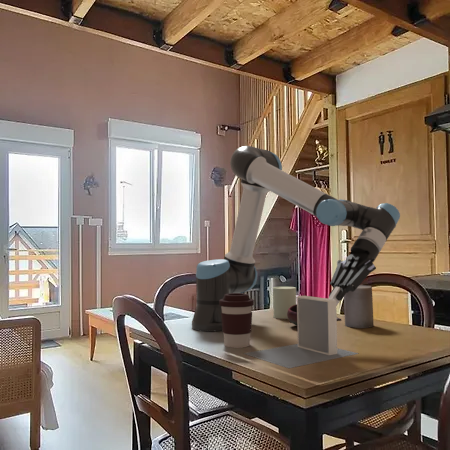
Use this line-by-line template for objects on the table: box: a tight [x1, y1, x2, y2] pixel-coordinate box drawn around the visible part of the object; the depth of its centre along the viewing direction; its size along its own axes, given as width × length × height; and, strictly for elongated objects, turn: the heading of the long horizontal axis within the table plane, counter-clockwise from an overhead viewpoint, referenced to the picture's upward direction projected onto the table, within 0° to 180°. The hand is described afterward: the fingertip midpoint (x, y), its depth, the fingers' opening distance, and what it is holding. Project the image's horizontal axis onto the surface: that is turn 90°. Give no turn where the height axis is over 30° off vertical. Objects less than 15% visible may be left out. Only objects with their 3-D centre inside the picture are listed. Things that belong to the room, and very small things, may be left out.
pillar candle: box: [343, 284, 374, 329], centre depth 167 cm, size 10×10×15 cm
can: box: [272, 286, 297, 320], centre depth 187 cm, size 9×9×12 cm
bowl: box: [287, 303, 297, 326], centre depth 168 cm, size 16×13×8 cm
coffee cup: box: [219, 292, 255, 349], centre depth 136 cm, size 10×10×15 cm
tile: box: [296, 295, 338, 355], centre depth 128 cm, size 12×3×14 cm, turn 34°
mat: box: [243, 343, 359, 369], centre depth 125 cm, size 18×24×1 cm
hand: (328, 307), depth 131 cm, fingers closed
